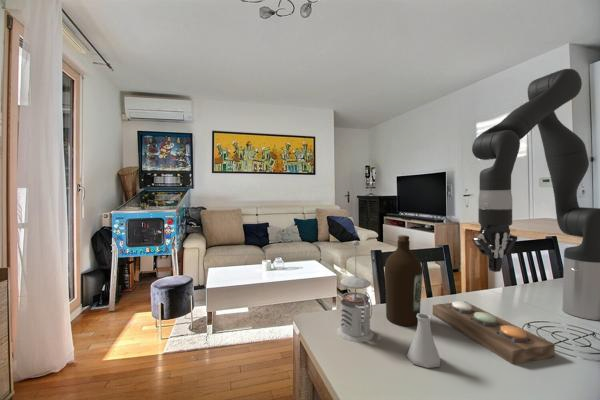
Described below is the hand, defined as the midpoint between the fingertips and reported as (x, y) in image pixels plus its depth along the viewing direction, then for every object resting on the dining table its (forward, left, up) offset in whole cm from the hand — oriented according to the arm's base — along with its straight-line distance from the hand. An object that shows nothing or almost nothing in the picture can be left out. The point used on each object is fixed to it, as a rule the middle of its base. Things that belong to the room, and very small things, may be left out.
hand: (494, 270), depth 77 cm
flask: (+27, +7, -17) cm, 33 cm away
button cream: (+3, -8, -16) cm, 18 cm away
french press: (+37, -7, -17) cm, 41 cm away
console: (+3, 0, -17) cm, 17 cm away
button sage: (+3, 0, -16) cm, 16 cm away
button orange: (+3, +8, -16) cm, 18 cm away
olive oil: (+20, -12, -17) cm, 29 cm away
